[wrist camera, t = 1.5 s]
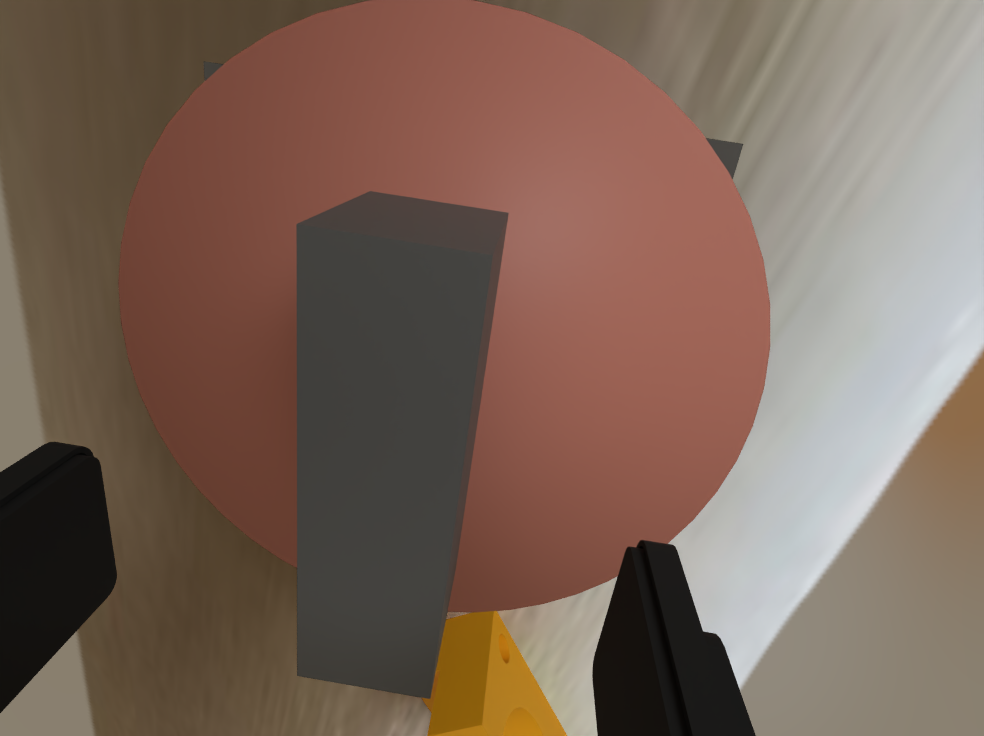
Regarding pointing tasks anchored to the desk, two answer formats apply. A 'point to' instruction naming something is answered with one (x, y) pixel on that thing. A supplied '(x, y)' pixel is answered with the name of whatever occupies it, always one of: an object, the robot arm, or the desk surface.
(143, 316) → the handwheel
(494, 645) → the pipe clamp
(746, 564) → the desk surface
